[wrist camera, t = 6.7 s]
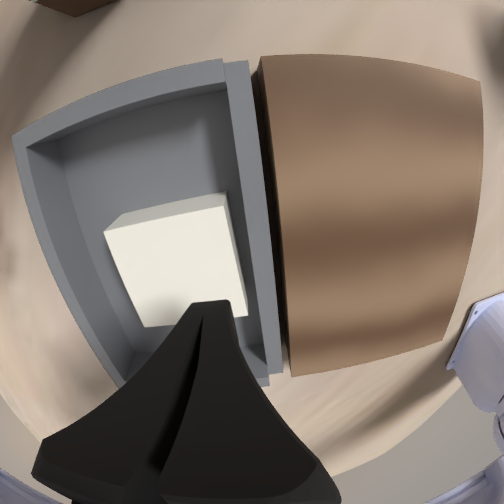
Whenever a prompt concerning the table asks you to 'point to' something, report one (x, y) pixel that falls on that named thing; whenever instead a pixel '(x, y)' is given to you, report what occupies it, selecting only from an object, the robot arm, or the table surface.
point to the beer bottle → (73, 5)
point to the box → (149, 198)
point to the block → (179, 257)
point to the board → (369, 202)
